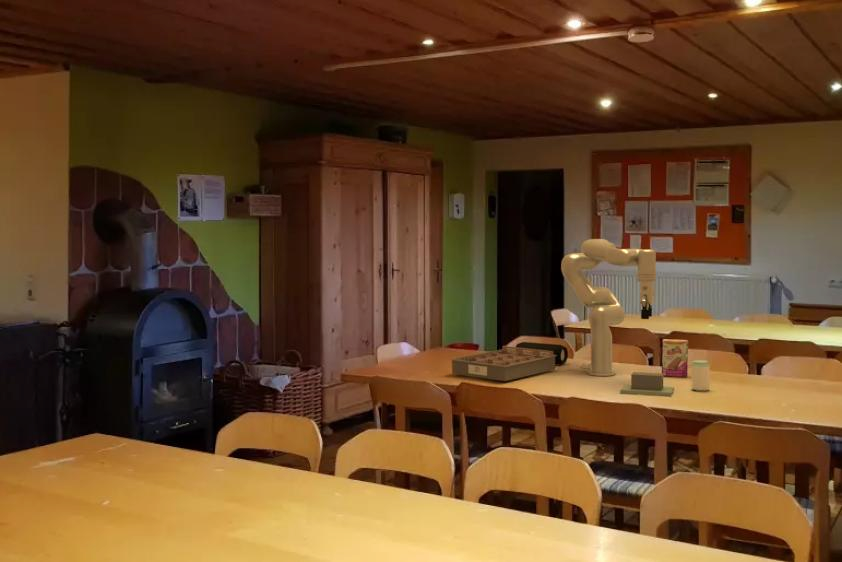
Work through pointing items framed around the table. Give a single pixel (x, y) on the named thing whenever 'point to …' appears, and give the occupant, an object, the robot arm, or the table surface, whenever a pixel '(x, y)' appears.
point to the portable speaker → (557, 350)
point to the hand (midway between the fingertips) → (646, 317)
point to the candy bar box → (675, 358)
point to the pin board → (647, 391)
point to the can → (700, 375)
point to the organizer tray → (505, 363)
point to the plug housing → (647, 381)
